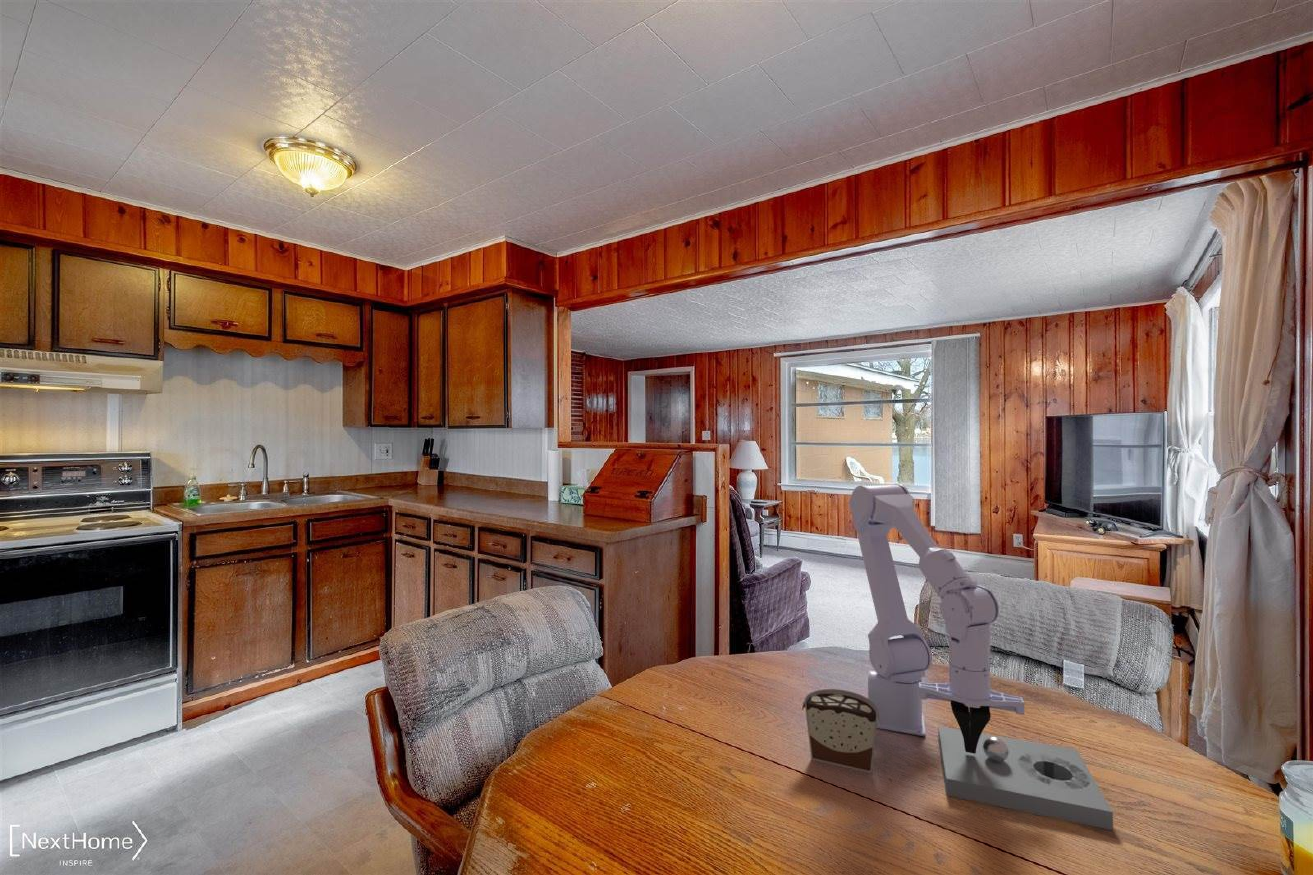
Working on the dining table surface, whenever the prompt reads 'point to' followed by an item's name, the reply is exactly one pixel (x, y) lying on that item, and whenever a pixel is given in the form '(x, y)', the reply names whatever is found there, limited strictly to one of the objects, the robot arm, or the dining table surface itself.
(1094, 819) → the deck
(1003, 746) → the ball
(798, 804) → the dining table surface
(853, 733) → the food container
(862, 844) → the dining table surface
